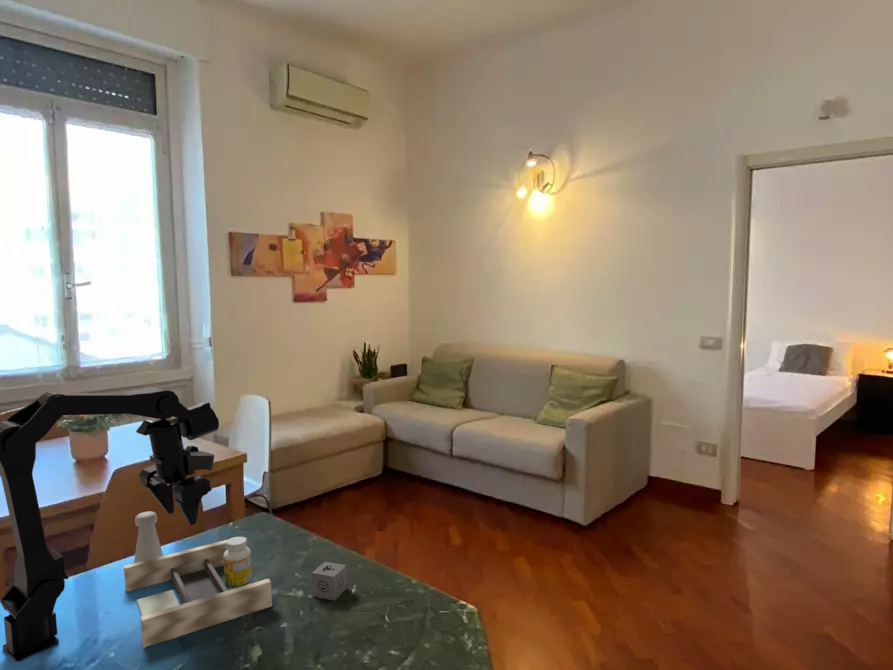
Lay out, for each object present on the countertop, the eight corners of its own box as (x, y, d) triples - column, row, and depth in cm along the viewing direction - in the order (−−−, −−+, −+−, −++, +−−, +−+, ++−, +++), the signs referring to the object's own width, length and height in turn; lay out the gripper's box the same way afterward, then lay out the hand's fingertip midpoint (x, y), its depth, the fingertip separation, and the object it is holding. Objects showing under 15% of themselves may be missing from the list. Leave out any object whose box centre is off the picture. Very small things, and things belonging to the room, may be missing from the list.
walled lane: (143, 647, 104) (141, 620, 103) (125, 589, 123) (123, 565, 123) (271, 606, 117) (271, 581, 116) (236, 558, 136) (235, 537, 136)
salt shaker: (169, 565, 133) (166, 508, 132) (154, 578, 128) (151, 519, 126) (144, 564, 134) (141, 508, 133) (128, 577, 128) (124, 518, 127)
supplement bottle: (254, 587, 124) (252, 542, 123) (226, 594, 121) (224, 548, 120) (249, 576, 128) (247, 532, 127) (223, 582, 126) (220, 538, 125)
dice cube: (325, 584, 125) (325, 561, 124) (347, 588, 123) (346, 565, 123) (312, 596, 120) (311, 572, 120) (334, 601, 118) (334, 576, 118)
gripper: (229, 442, 122) (241, 512, 125) (182, 427, 133) (195, 492, 137) (176, 462, 113) (191, 537, 117) (131, 445, 125) (146, 514, 128)
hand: (182, 518), depth 125 cm, fingers open, 9 cm apart
